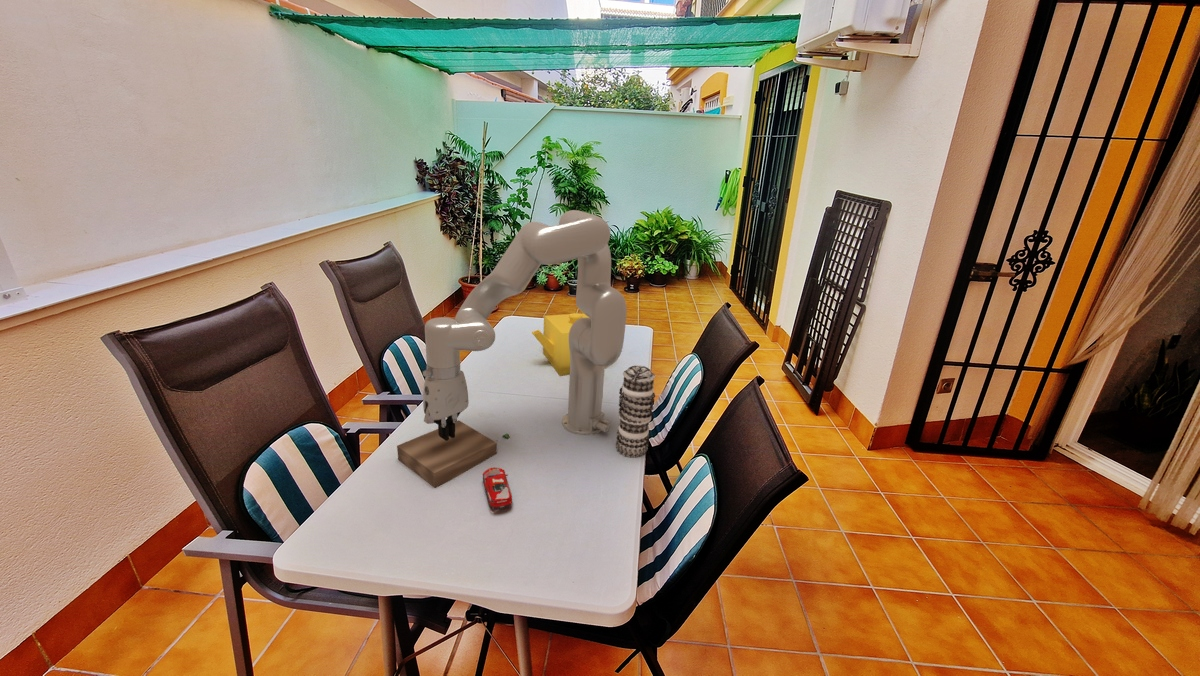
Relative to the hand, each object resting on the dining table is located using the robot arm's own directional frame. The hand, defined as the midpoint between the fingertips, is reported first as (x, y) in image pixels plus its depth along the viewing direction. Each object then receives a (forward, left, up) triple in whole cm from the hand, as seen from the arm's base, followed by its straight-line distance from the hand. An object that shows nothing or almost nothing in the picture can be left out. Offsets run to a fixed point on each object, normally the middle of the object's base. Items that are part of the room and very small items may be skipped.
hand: (447, 436), depth 122 cm
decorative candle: (-33, -34, -6) cm, 48 cm away
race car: (-17, 0, -8) cm, 18 cm away
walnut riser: (0, 0, -6) cm, 6 cm away
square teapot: (+16, -63, -6) cm, 65 cm away
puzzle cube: (-4, -14, -7) cm, 17 cm away
